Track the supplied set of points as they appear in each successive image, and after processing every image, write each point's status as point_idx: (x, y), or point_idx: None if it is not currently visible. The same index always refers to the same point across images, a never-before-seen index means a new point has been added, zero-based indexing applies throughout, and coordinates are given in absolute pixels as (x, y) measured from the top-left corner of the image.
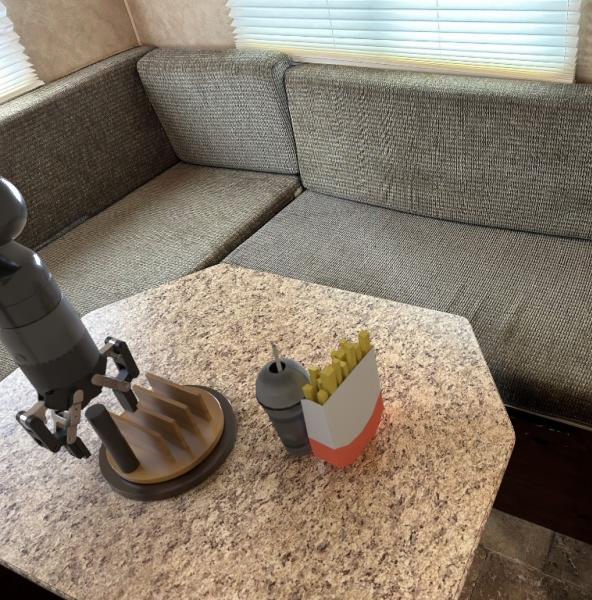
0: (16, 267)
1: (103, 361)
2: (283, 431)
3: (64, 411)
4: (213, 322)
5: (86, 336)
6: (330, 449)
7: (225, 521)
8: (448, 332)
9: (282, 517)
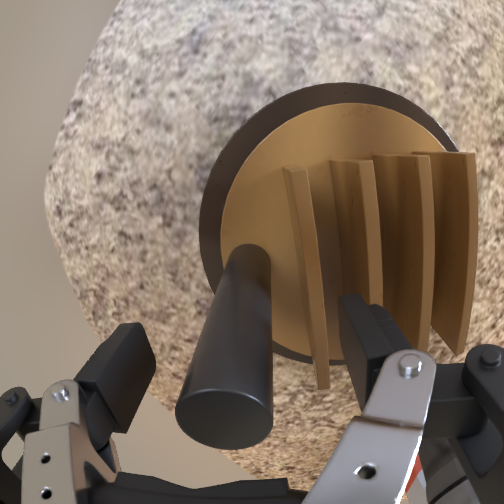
0: None
1: None
2: (419, 456)
3: (84, 463)
4: None
5: None
6: (407, 487)
7: (283, 413)
8: None
9: (324, 446)
